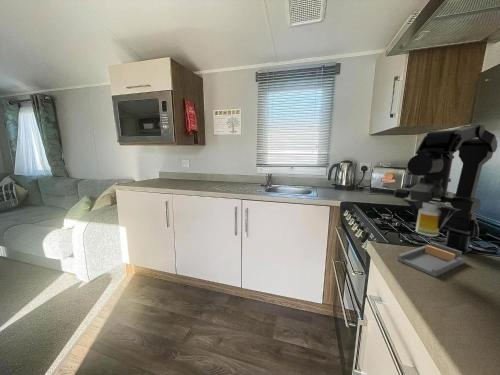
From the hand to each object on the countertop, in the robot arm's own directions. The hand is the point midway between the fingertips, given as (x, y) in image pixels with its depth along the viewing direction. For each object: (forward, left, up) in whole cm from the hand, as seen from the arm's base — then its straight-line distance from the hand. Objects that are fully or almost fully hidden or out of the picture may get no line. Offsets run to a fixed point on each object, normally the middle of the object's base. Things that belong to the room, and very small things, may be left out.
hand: (427, 225), depth 63 cm
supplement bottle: (0, 0, -3) cm, 3 cm away
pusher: (-9, +1, -13) cm, 15 cm away
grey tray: (-4, +1, -12) cm, 13 cm away
